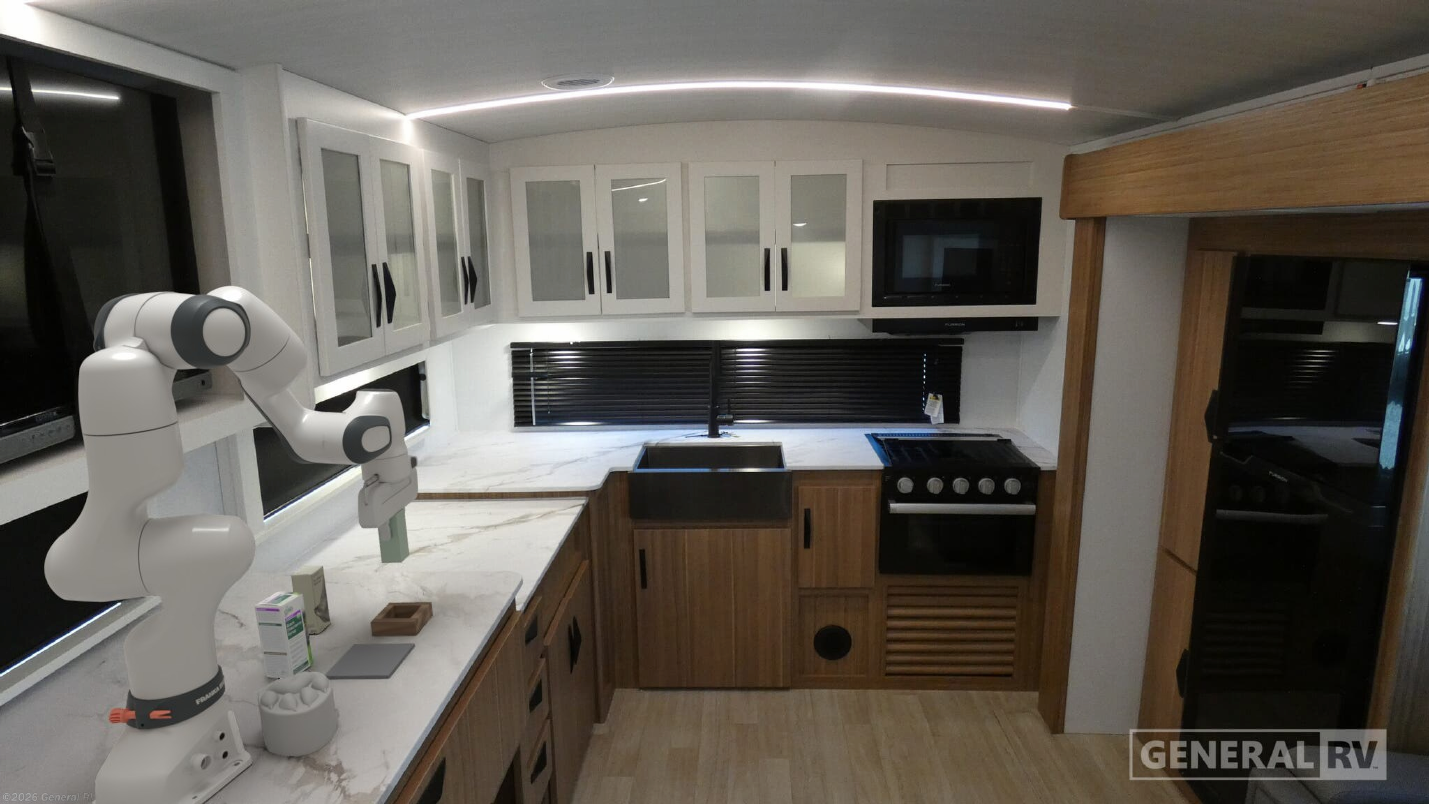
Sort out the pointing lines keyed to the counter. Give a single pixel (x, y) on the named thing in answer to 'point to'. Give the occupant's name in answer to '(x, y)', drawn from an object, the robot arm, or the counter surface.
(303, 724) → the lumpy-topped squat cylinder
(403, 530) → the peg
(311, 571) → the box
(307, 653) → the syrup box
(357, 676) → the mat
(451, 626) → the counter surface
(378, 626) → the block
